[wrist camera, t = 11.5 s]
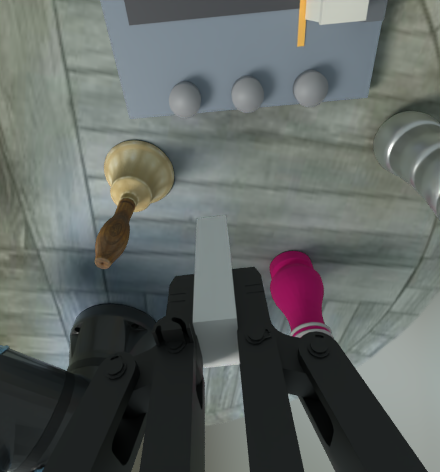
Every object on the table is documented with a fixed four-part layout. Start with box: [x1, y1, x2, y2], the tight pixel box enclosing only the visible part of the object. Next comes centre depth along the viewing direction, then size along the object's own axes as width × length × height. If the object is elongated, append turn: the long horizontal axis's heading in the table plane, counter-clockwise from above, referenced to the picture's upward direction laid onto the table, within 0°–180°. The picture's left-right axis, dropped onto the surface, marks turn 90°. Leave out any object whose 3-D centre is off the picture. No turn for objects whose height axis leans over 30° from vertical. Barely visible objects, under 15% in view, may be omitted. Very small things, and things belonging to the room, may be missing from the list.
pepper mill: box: [270, 251, 334, 339], centre depth 39 cm, size 7×7×20 cm
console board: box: [100, 0, 388, 119], centre depth 27 cm, size 24×14×4 cm, turn 95°
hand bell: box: [95, 140, 174, 269], centre depth 32 cm, size 8×8×16 cm
